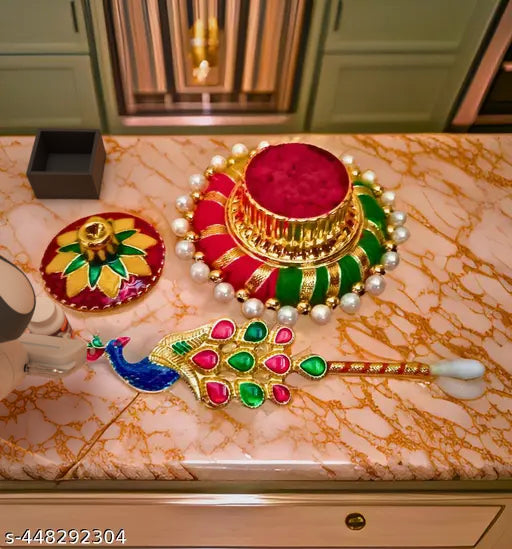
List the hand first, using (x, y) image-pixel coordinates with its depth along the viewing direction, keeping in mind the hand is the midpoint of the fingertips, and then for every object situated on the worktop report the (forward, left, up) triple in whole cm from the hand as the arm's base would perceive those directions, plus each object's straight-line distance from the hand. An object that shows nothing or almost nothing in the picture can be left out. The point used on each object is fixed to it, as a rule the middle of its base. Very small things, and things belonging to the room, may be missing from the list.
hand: (36, 333), depth 91 cm
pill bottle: (0, +3, -9) cm, 10 cm away
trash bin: (-3, +41, -9) cm, 42 cm away
